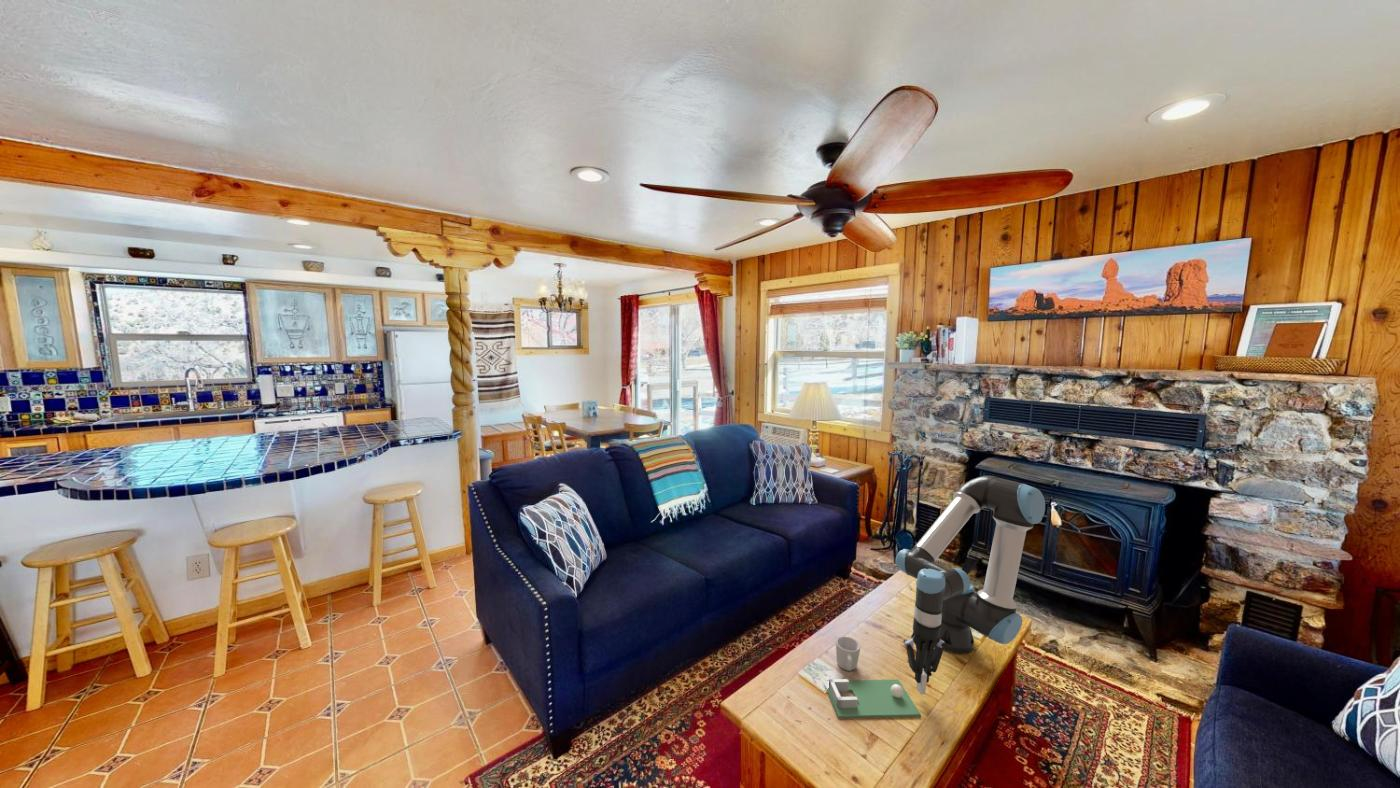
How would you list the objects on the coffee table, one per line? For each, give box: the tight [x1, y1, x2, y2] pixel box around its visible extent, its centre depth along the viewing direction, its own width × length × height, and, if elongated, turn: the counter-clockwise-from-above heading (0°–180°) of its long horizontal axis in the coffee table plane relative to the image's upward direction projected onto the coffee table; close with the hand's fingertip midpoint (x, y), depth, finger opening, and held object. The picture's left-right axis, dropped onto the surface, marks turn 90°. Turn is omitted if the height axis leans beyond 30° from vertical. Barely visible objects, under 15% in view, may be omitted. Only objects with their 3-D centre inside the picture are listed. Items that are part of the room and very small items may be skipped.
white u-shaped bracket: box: [828, 678, 858, 708], centre depth 142 cm, size 6×8×4 cm
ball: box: [891, 684, 903, 698], centre depth 143 cm, size 4×4×4 cm
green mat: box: [826, 679, 922, 719], centre depth 142 cm, size 25×14×1 cm, turn 93°
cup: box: [835, 635, 861, 671], centre depth 155 cm, size 11×8×8 cm
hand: (920, 691), depth 143 cm, fingers closed
